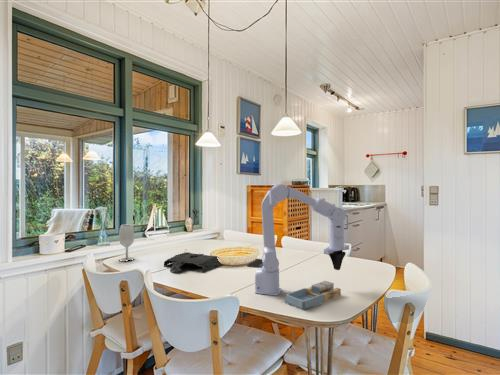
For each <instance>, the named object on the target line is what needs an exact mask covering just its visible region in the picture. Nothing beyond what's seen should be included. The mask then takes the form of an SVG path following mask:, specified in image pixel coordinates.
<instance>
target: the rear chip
mask: <svg viewBox="0 0 500 375" xmlns="http://www.w3.org/2000/svg"><path fill="white" fill-rule="evenodd" d="M319 283H320V284H323V285H326V289H327V291H330V290H333V289H335V288H334V286H335V285H334V282H330V281H327V280H324V281H321V282H319Z"/></svg>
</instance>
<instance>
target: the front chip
mask: <svg viewBox="0 0 500 375" xmlns="http://www.w3.org/2000/svg"><path fill="white" fill-rule="evenodd" d="M311 287H312V293H313V294H316V295H320V294H322V293H324V292H327V289H326V285H323V284H320V282H317V283H314V284H311Z"/></svg>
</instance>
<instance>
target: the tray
mask: <svg viewBox="0 0 500 375" xmlns="http://www.w3.org/2000/svg"><path fill="white" fill-rule="evenodd" d="M306 288H307V287H304V288H301V289H297V290H295V291H292V292H288V293H285V295H284V303H285V304H288V305H289V306H292V307H295V308H296V309H297V308H298V309H300V310H302V311H306V310H307V309H310V308H313V307H315V306H319V305H321V304H323V303H325V302H324V294H320V295H318V296H315V297H313V296H310V295H307V294H306Z"/></svg>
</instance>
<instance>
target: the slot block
mask: <svg viewBox="0 0 500 375" xmlns="http://www.w3.org/2000/svg"><path fill="white" fill-rule="evenodd" d="M305 288H306V294H307V295H310V296H313V297H315V296H318V295H316V294H313V293H312V286H309V287H305ZM322 294H324V302H323V303H326V302H328V301H330V300H333V299H336V298H338V297H340V296H341V288H340V287H335V288H334V289H333V290H330V291H327V292H324V293H322Z"/></svg>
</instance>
